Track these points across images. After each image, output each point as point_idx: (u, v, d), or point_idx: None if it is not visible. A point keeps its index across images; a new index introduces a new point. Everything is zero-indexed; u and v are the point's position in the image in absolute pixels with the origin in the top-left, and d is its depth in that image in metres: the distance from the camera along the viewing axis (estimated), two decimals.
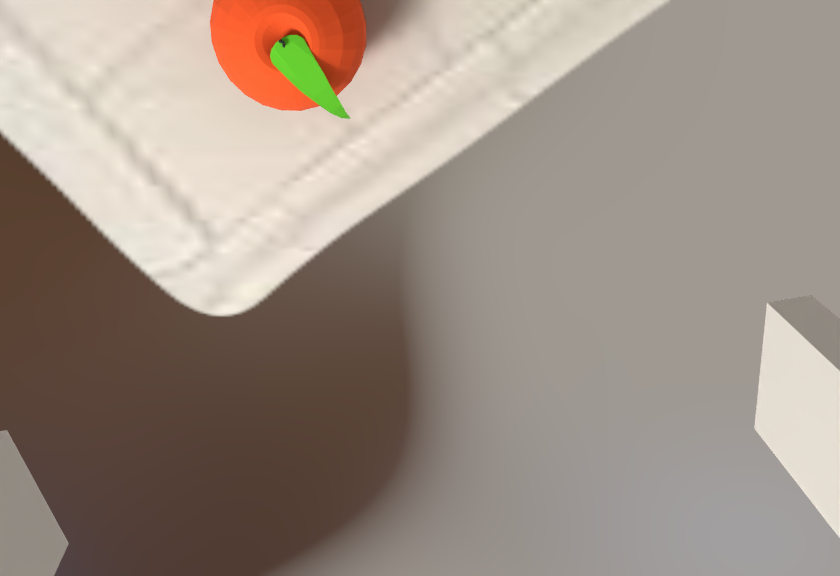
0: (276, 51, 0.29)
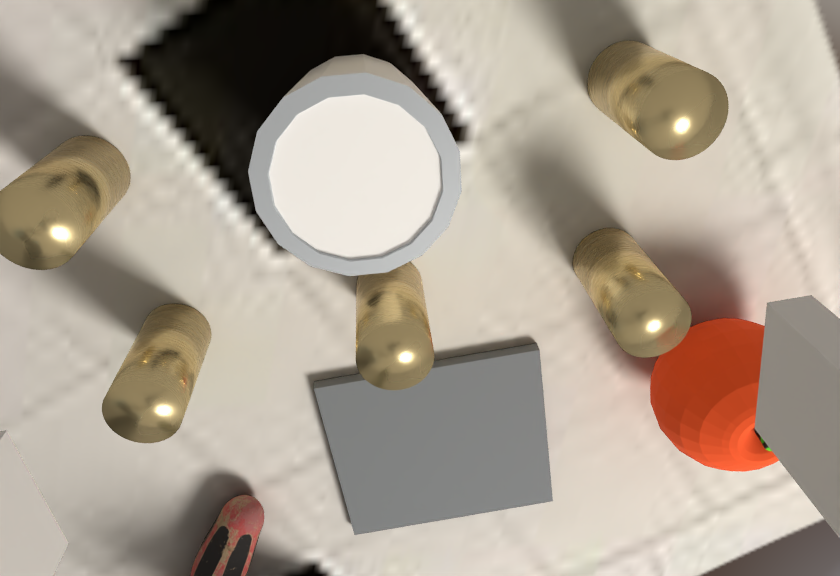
0: None
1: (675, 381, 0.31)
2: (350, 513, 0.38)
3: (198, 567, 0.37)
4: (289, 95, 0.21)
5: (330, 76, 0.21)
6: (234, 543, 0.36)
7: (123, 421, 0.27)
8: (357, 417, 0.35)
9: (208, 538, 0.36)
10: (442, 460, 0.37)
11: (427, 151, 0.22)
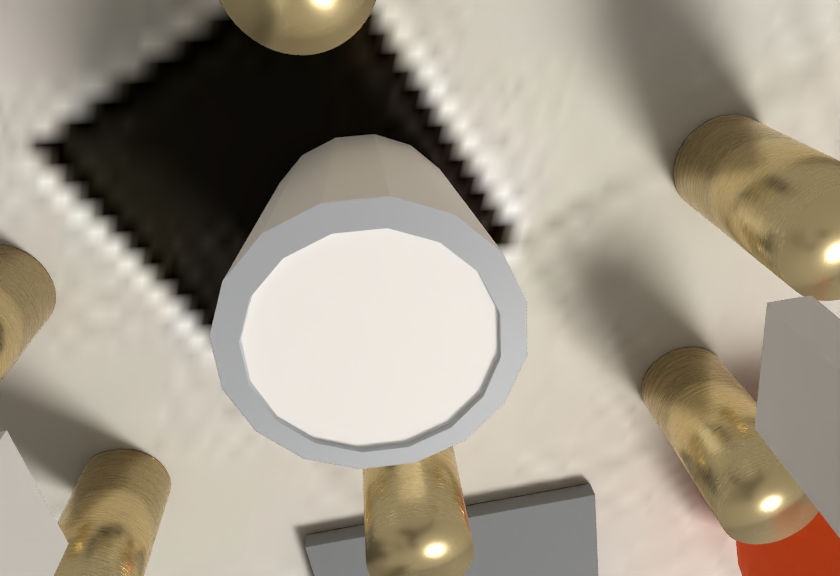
0: None
1: (781, 553, 0.23)
2: None
3: None
4: (271, 230, 0.14)
5: (335, 202, 0.14)
6: None
7: None
8: None
9: None
10: None
11: (479, 304, 0.15)
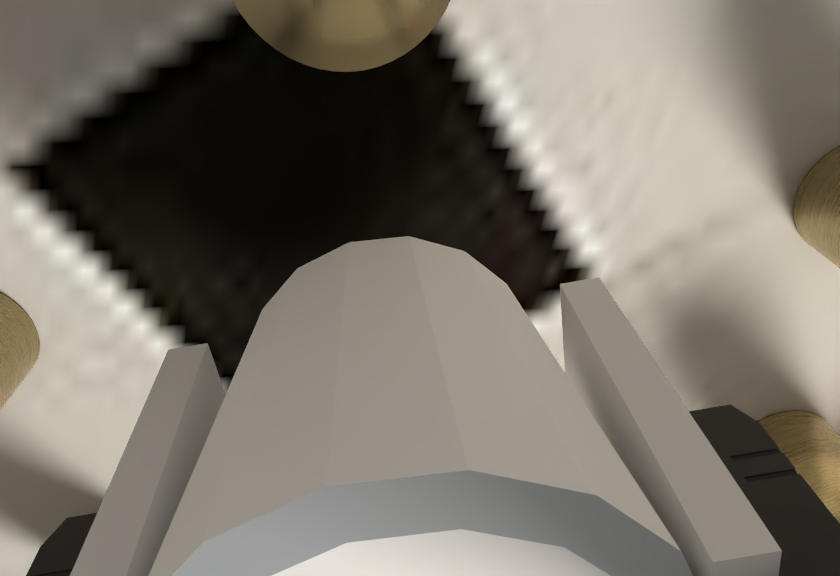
0: None
1: None
2: None
3: None
4: (224, 538, 0.07)
5: (354, 483, 0.07)
6: None
7: None
8: None
9: None
10: None
11: None
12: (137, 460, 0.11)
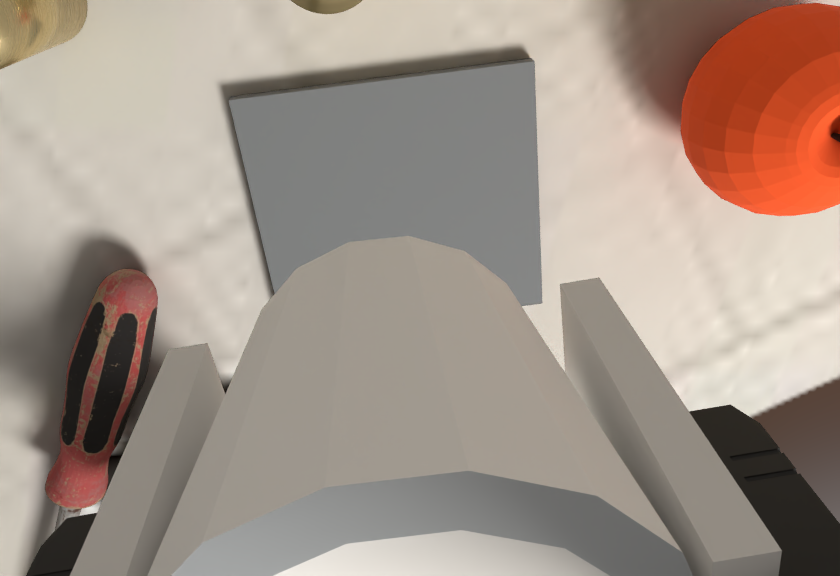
0: None
1: (721, 73, 0.22)
2: None
3: (72, 366, 0.28)
4: (222, 539, 0.07)
5: (354, 483, 0.07)
6: (112, 325, 0.27)
7: None
8: (288, 152, 0.26)
9: (82, 325, 0.28)
10: (401, 229, 0.28)
11: None
12: (137, 460, 0.11)
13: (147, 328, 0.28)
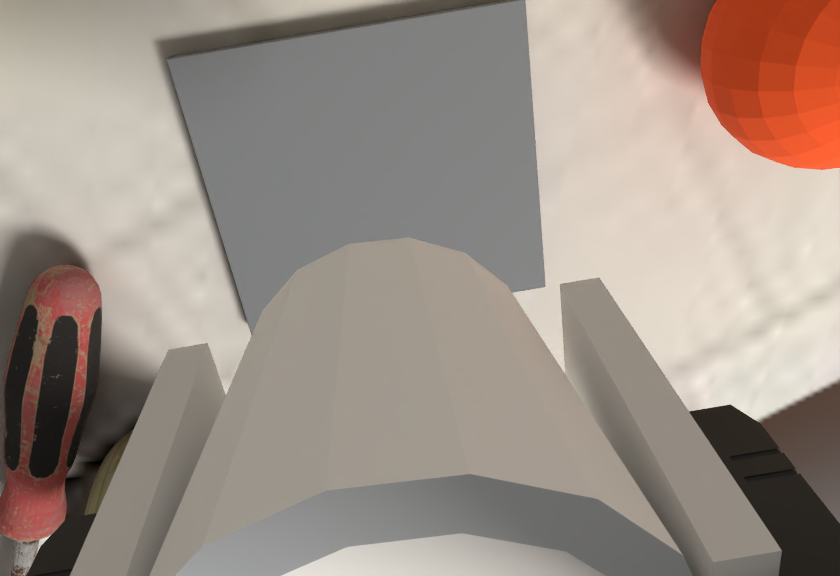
0: None
1: None
2: (243, 298, 0.25)
3: (7, 380, 0.24)
4: (223, 542, 0.07)
5: (355, 487, 0.07)
6: (47, 331, 0.23)
7: None
8: (241, 119, 0.22)
9: (15, 332, 0.24)
10: (378, 206, 0.24)
11: None
12: (137, 460, 0.11)
13: (91, 332, 0.24)
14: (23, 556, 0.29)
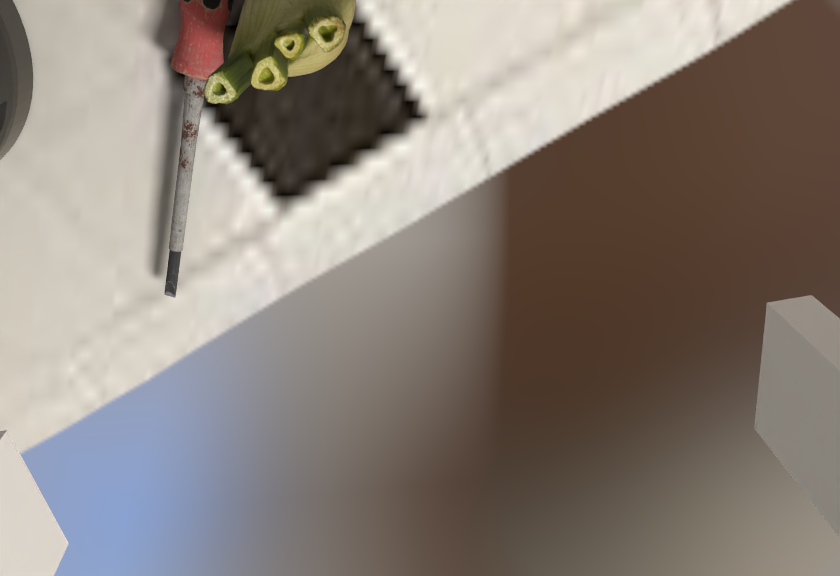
0: None
1: None
2: None
3: None
4: None
5: None
6: None
7: None
8: None
9: None
10: None
11: None
12: None
13: None
14: (192, 109, 0.36)
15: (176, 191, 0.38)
